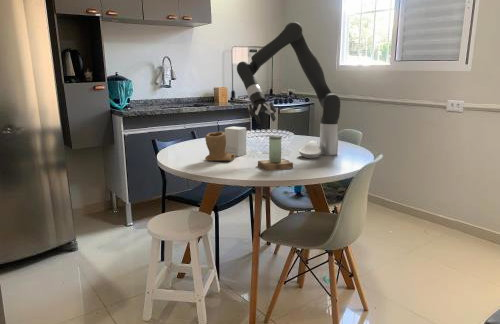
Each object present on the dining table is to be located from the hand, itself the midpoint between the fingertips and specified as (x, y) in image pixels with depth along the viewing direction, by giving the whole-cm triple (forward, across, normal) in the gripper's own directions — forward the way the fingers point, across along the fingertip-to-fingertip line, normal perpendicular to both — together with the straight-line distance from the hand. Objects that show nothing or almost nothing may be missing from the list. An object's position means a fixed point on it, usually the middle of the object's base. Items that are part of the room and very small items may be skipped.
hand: (267, 121), depth 190 cm
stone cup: (+7, -22, +21) cm, 32 cm away
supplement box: (+2, -8, +29) cm, 30 cm away
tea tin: (+21, -4, +2) cm, 22 cm away
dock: (+23, -4, +3) cm, 24 cm away
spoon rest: (+17, +28, +15) cm, 36 cm away
